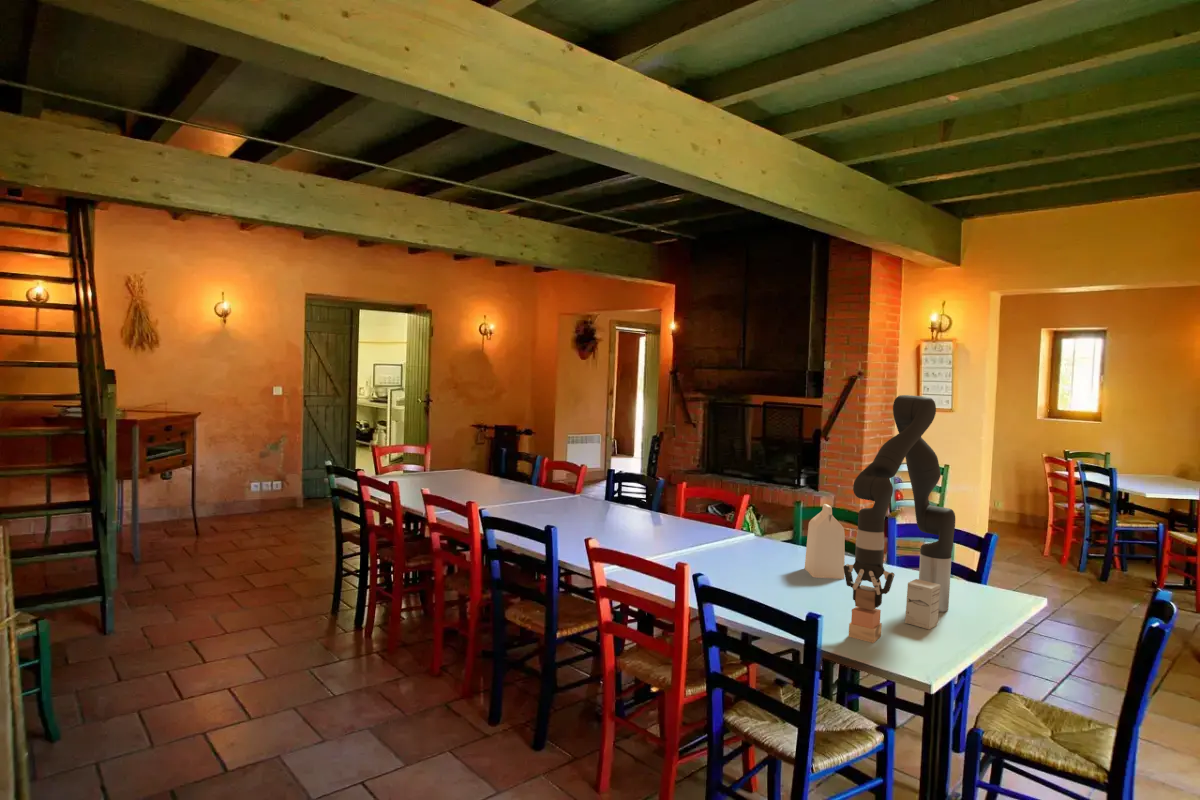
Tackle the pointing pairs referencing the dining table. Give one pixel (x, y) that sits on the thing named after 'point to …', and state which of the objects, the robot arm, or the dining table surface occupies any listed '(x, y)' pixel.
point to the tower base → (865, 632)
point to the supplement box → (922, 603)
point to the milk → (825, 546)
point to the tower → (865, 617)
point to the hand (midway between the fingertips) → (866, 604)
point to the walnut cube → (865, 597)
